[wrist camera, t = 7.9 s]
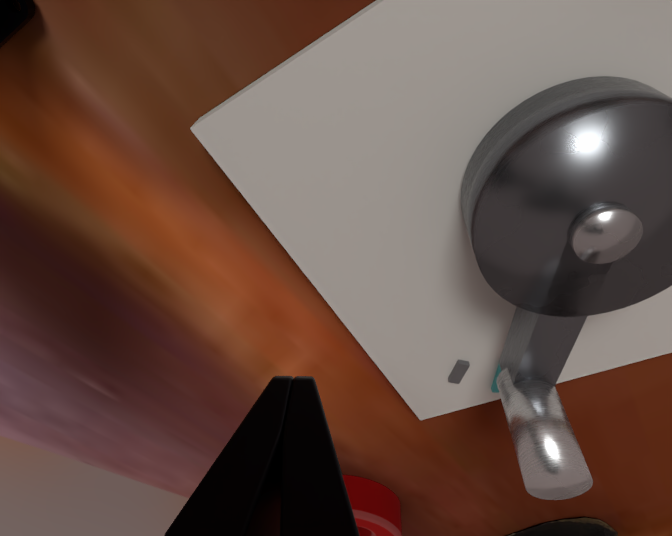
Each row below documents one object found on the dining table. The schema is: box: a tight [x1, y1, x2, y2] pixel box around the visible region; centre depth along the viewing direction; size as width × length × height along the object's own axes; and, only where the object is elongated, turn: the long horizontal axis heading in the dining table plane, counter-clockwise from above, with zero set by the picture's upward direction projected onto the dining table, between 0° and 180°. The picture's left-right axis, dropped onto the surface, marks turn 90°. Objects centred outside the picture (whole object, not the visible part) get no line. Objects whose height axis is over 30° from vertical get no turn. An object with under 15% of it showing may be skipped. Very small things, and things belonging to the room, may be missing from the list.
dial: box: [461, 76, 672, 500], centre depth 16 cm, size 14×8×7 cm, turn 0°
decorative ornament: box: [342, 475, 402, 536], centre depth 36 cm, size 10×10×3 cm
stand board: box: [190, 0, 672, 420], centre depth 19 cm, size 21×21×2 cm
